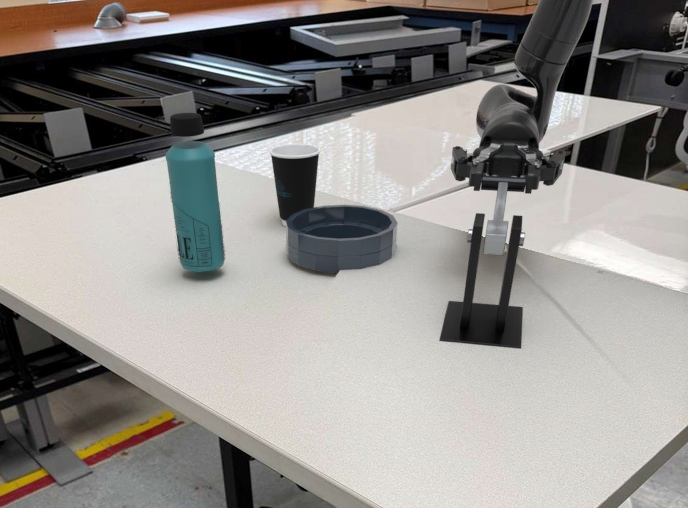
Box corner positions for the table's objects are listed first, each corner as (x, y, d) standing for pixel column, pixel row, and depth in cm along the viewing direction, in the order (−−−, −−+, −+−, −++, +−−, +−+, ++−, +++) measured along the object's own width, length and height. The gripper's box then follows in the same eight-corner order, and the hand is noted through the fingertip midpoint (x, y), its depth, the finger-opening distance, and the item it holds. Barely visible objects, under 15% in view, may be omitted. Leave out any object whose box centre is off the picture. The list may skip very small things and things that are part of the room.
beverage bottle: (235, 269, 101) (222, 110, 89) (211, 286, 97) (194, 121, 84) (195, 263, 103) (177, 106, 91) (171, 279, 99) (148, 117, 86)
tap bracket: (447, 309, 90) (459, 202, 81) (521, 315, 88) (541, 207, 80) (438, 348, 81) (451, 234, 73) (519, 356, 80) (541, 240, 71)
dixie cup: (265, 228, 114) (261, 154, 108) (281, 213, 120) (279, 142, 113) (312, 233, 113) (311, 157, 106) (326, 217, 118) (327, 144, 111)
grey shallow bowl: (383, 236, 111) (385, 202, 108) (404, 273, 99) (407, 237, 96) (283, 241, 110) (282, 207, 107) (292, 279, 98) (291, 243, 95)
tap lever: (481, 188, 86) (483, 169, 84) (523, 191, 85) (527, 171, 83) (469, 253, 78) (472, 233, 76) (516, 256, 77) (520, 236, 75)
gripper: (456, 111, 93) (443, 144, 80) (572, 115, 90) (577, 149, 77) (450, 173, 97) (436, 213, 85) (559, 178, 95) (562, 221, 82)
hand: (503, 182), depth 81 cm, fingers open, 5 cm apart
